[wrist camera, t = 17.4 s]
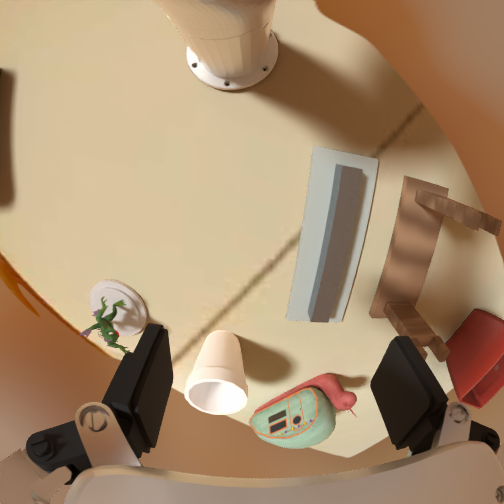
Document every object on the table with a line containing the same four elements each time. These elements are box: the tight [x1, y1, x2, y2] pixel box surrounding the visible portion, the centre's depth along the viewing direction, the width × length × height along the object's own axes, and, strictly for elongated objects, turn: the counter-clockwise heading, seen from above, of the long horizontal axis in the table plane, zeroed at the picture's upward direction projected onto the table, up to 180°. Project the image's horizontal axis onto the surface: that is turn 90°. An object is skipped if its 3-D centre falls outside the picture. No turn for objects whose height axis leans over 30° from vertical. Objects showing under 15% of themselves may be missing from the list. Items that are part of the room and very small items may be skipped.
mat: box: [286, 146, 379, 322], centre depth 40 cm, size 28×10×1 cm, turn 174°
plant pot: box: [445, 309, 504, 409], centre depth 42 cm, size 19×19×17 cm
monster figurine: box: [79, 279, 147, 354], centre depth 40 cm, size 12×12×10 cm
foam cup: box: [185, 331, 248, 415], centre depth 42 cm, size 10×9×13 cm
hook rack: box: [369, 176, 502, 362], centre depth 34 cm, size 25×9×16 cm, turn 174°
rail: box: [307, 164, 363, 323], centre depth 38 cm, size 24×3×3 cm, turn 174°
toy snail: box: [249, 374, 357, 448], centre depth 47 cm, size 25×8×14 cm, turn 132°
